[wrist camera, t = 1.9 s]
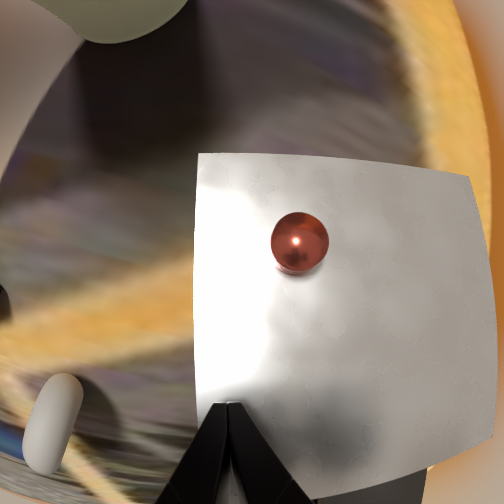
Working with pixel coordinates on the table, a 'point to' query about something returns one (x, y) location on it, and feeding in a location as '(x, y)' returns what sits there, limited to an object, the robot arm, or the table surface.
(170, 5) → the can
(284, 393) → the lid
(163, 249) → the table surface
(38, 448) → the donut
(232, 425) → the robot arm
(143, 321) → the table surface
